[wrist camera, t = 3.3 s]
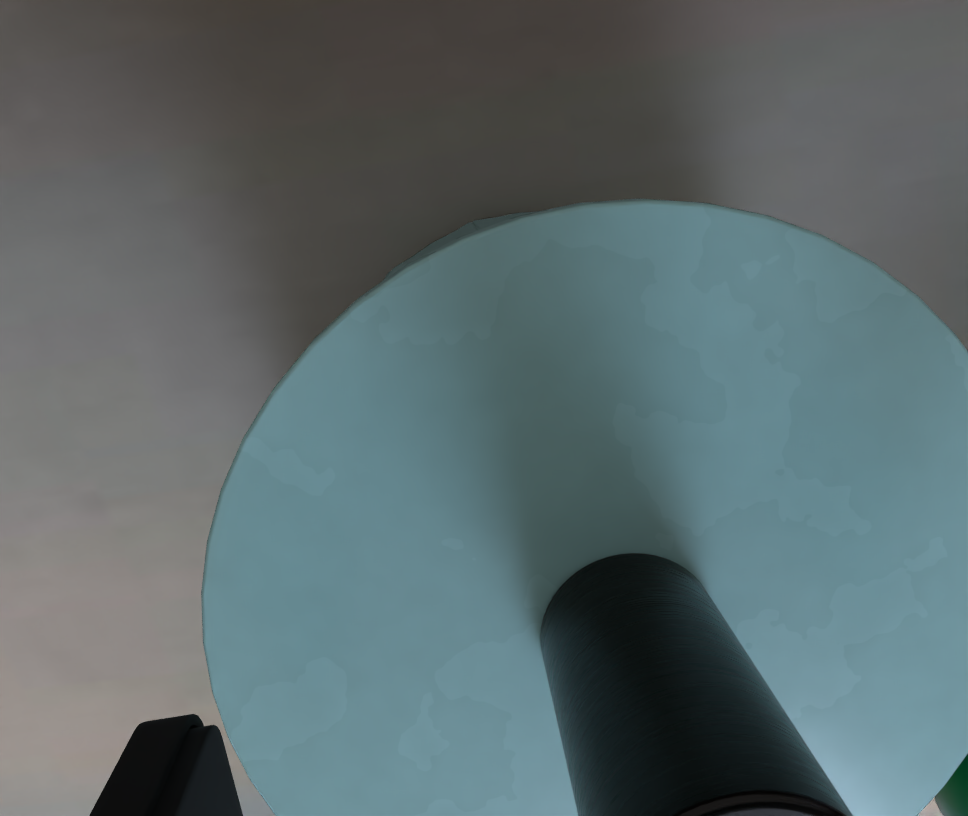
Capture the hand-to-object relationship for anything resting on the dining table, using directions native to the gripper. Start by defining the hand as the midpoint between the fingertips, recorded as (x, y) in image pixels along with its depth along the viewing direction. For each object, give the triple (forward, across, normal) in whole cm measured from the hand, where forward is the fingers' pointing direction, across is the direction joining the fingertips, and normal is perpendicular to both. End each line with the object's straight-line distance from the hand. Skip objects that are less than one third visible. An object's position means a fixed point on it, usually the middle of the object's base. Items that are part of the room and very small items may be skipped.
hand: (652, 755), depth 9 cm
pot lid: (+3, 0, 0) cm, 3 cm away
